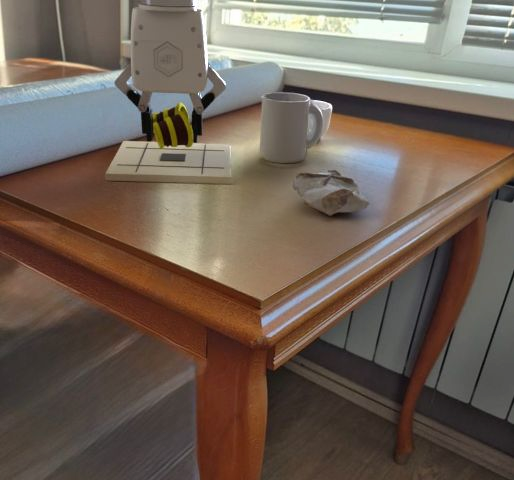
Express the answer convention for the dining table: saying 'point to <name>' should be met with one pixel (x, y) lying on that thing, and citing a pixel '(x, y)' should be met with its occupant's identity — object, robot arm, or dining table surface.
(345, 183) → the stone
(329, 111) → the teacup
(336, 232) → the dining table surface
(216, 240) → the dining table surface
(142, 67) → the robot arm
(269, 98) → the cup
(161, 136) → the opera glasses
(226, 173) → the board
